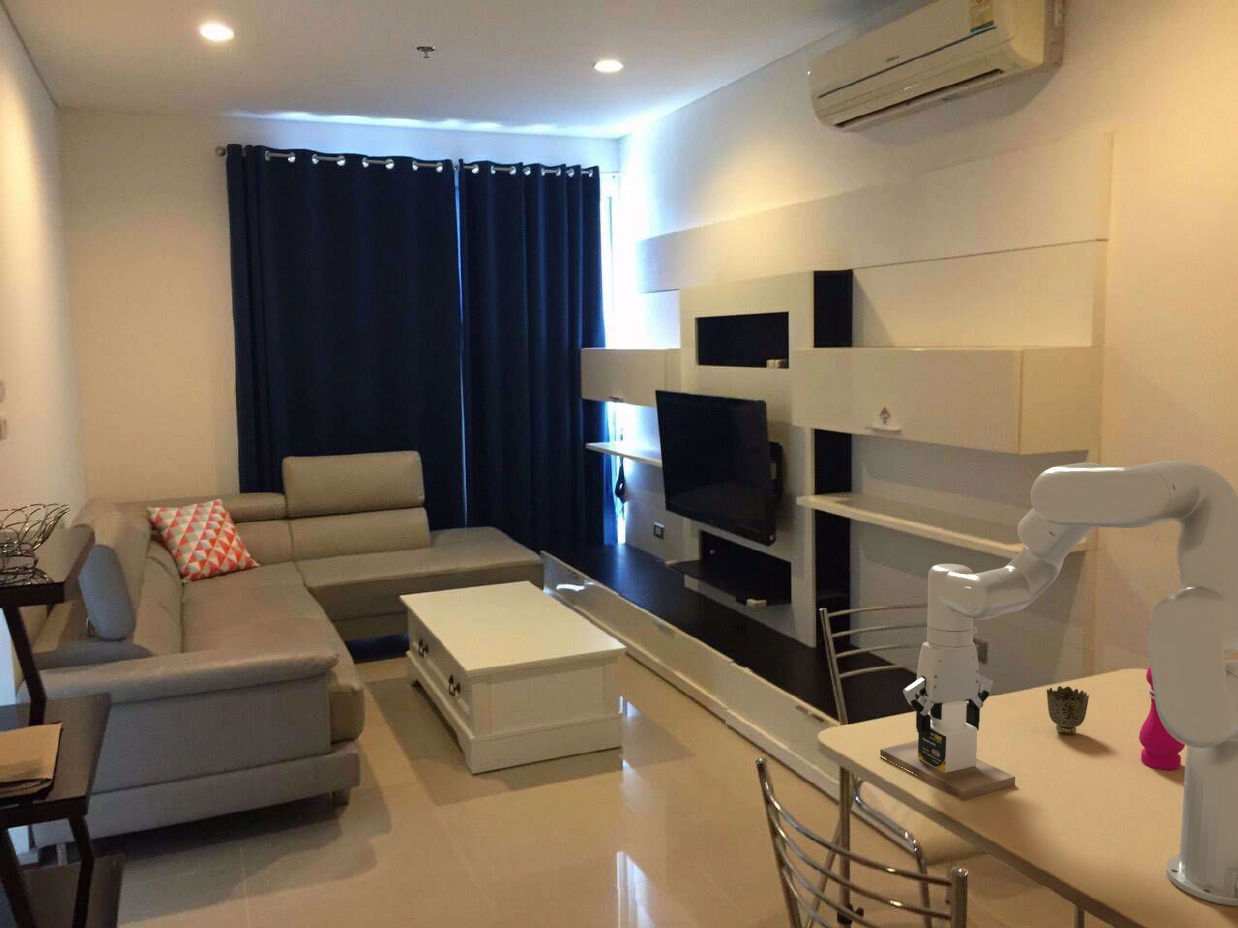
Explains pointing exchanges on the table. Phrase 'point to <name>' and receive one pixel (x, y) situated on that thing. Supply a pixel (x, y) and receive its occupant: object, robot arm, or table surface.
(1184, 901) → the table surface
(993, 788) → the walnut board
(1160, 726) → the pepper mill
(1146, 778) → the table surface
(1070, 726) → the cup
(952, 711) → the medicine bottle
